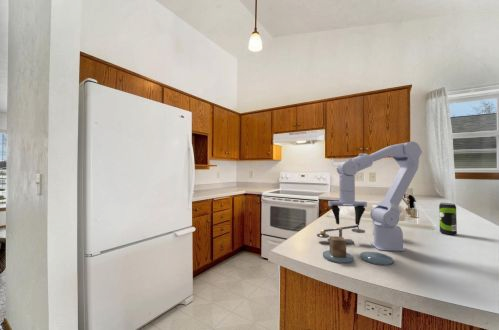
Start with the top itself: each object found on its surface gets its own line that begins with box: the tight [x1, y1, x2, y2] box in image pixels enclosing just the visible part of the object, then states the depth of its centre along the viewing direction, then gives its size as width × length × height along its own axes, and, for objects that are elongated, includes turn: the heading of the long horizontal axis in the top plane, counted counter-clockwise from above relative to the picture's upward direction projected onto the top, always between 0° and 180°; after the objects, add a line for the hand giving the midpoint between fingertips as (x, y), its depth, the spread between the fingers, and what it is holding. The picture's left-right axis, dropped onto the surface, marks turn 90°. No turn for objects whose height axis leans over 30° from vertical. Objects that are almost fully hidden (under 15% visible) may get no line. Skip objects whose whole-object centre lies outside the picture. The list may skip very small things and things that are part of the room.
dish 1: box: [322, 249, 354, 264], centre depth 78 cm, size 10×10×1 cm
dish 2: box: [359, 251, 394, 266], centre depth 76 cm, size 10×10×1 cm
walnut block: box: [329, 235, 347, 258], centre depth 78 cm, size 4×4×6 cm
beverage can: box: [438, 202, 458, 236], centre depth 108 cm, size 6×6×15 cm
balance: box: [316, 224, 366, 245], centre depth 94 cm, size 20×5×8 cm, turn 83°
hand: (347, 224), depth 88 cm, fingers open, 7 cm apart
